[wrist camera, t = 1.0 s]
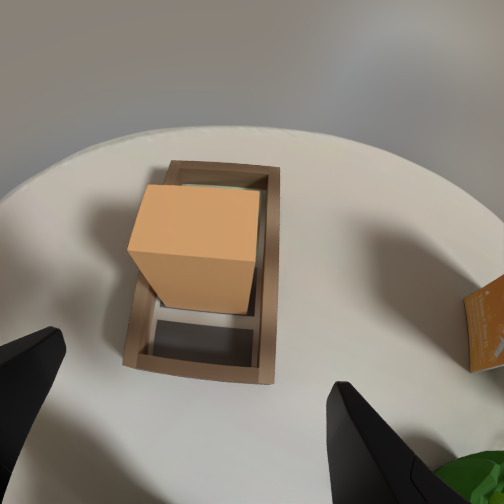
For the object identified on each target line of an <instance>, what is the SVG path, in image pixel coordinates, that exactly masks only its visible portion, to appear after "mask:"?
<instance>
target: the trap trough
mask: <svg viewBox="0 0 504 504" xmlns="http://www.w3.org/2000/svg"><path fill="white" fill-rule="evenodd" d="M163 185H176V186H196V187H213V188H228V189H241V190H253V191H260V195H259V211H258V227H257V243H256V259H255V266H254V273H253V279H252V285H251V291H250V297H249V303H248V309H247V315H242V314H230V313H219V312H209V311H199V310H190V309H181V308H172V307H166V306H165V304H164V303H163V302H162V300H161V299H160V298H159V296H158V295H157V293H156V292H155V291H154V289H153V288H152V286H151V285H150V284H149V282H148V281H147V279H146V278H145V276H144V275H143V273H142V272H141V270H140V271H139V275H138V280H137V284H136V289H135V294H134V299H133V304H132V309H131V314H130V320H129V325H128V331H127V337H126V343H125V350H124V356H123V364H122V365H124V366H128V367H131V368H135V369H139V370H144V371H150V372H155V373H161V374H167V375H174V376H180V377H187V378H195V379H203V380H212V381H222V382H233V383H247V384H264V385H270V384H274V376H275V356H276V334H277V308H278V276H279V230H280V167H271V166H260V165H249V164H236V163H221V162H203V161H176V160H171V162H170V165H169V168H168V171H167V174H166V177H165V181H164V184H163Z"/></svg>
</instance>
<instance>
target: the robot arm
mask: <svg viewBox="0 0 504 504" xmlns="http://www.w3.org/2000/svg"><path fill="white" fill-rule="evenodd" d="M65 354H66V345H65V341H64V338H63V335H62V332H61V330H60V329H58V328H56V327H53V326H49V327H47V328H44V329H42V330H39V331H37V332H34V333H32V334H29V335H27V336H24V337H22V338H19V339H17V340H14V341H12V342H9V343H7V344H5V345H2V346H0V504H2V501H3V497H4V494H5V491H6V488H7V486H8V483H9V480H10V477H11V475H12V472H13V469H14V466H15V464H16V461H17V459H18V456H19V454H20V452H21V449H22V447H23V445H24V442H25V440H26V438H27V436H28V433H29V431H30V429H31V427H32V425H33V423H34V420H35V418H36V416H37V414H38V412H39V410H40V408H41V406H42V404H43V402H44V400H45V398H46V397H47V395H48V393H49V391H50V389H51V387H52V384H53V382H54V380H55V377H56V375H57V372H58V370H59V368H60V365H61V363H62V361H63V359H64V356H65ZM326 418H327V454H328V463H329V472H330V481H331V491H332V502H333V504H473V503H471V502H469V501H468V500H466V499H465V498H464V497H462V496H461V495H460V494H459V493H457V492H456V491H455V490H454V489H452V488H451V487H450V486H449V485H447V484H446V483H445V482H444V481H443V480H441V479H440V478H439V477H438V476H437V475H436V474H435V473H434V472H432V471H431V470H430V469H429V468H428V467H427V466H426V465H425V464H424V463H423V462H422V460H421V459H420V458H419V457H418V456H417V455H415V453H414V452H413V451H412V450H411V449H410V448H409V447H408V446H407V445H406V443H405V442H404V441H403V440H402V439H401V438H400V437H399V436H398V435H397V434H396V433H395V432H394V430H393V429H392V428H391V427H390V426H389V425H388V424H387V423H386V422H385V421H384V420H383V419H382V417H381V416H380V415H379V414H378V413H377V412H376V411H375V410H374V409H373V408H372V407H371V405H370V404H369V403H368V402H367V401H366V400H365V399H364V398H363V397H362V396H361V394H360V393H359V392H358V391H357V390H356V389H355V388H354V387H353V386H352V385H351V383H349V382H347V381H337V382H335V384H334V385H333V387H332V390H331V392H330V394H329V396H328V398H327V403H326Z"/></svg>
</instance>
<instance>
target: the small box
mask: <svg viewBox="0 0 504 504" xmlns="http://www.w3.org/2000/svg"><path fill="white" fill-rule="evenodd" d="M464 303H465V308H466V315H467V323H468V333H469V345H470V372H471V373H475V372H480V371H485V370H489V369H493V368H498V367H502V366H504V274H503V275H502V276H500V277H499V278H497V279H496V280H494V281H492V282H491V283H489V284H488V285H486V286H484V287H483V288H481V289H480V290H478V291H476V292H475V293H473V294H471V295H469V296H468V297H466V298H465V299H464Z"/></svg>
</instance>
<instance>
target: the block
mask: <svg viewBox="0 0 504 504" xmlns="http://www.w3.org/2000/svg"><path fill="white" fill-rule="evenodd" d="M259 195H260V191H253V190H241V189H228V188H213V187H196V186H176V185H149V184H148V185H147V188H146V191H145V194H144V197H143V200H142V203H141V206H140V209H139V212H138V215H137V218H136V221H135V225H134V228H133V231H132V235H131V238H130V242H129V245H128V249H127V251H128V252H129V254H130V256H131V257H132V259H133V260H134V262H135V263H136V265H137V266H138V268H139V269H140V270H141V272H142V273H143V275H144V276H145V278H146V279H147V281H148V282H149V284H150V285H151V286H152V288H153V289H154V291H155V292H156V293H157V295H158V296H159V298H160V299H161V300H162V302H163V303H164V304H165V306H166V307H172V308H181V309H190V310H199V311H209V312H219V313H230V314H242V315H247V309H248V303H249V297H250V291H251V285H252V279H253V273H254V266H255V259H256V243H257V227H258V211H259Z"/></svg>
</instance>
